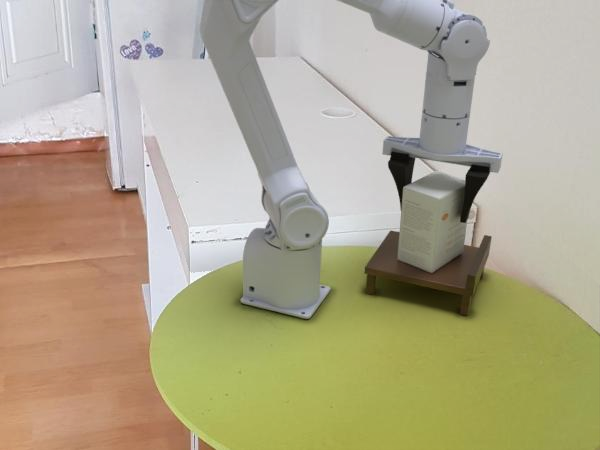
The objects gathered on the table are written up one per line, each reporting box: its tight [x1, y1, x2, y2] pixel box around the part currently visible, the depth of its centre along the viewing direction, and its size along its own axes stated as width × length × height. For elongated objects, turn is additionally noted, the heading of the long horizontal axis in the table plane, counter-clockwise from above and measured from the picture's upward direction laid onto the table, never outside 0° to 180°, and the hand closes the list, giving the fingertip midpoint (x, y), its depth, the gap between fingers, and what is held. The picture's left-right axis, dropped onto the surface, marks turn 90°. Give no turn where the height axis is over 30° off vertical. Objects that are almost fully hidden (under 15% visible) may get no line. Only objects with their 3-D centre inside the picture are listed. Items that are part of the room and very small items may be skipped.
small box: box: [397, 170, 468, 273], centre depth 97 cm, size 8×6×10 cm
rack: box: [363, 230, 493, 317], centre depth 100 cm, size 14×12×6 cm
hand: (434, 214), depth 97 cm, fingers open, 7 cm apart
